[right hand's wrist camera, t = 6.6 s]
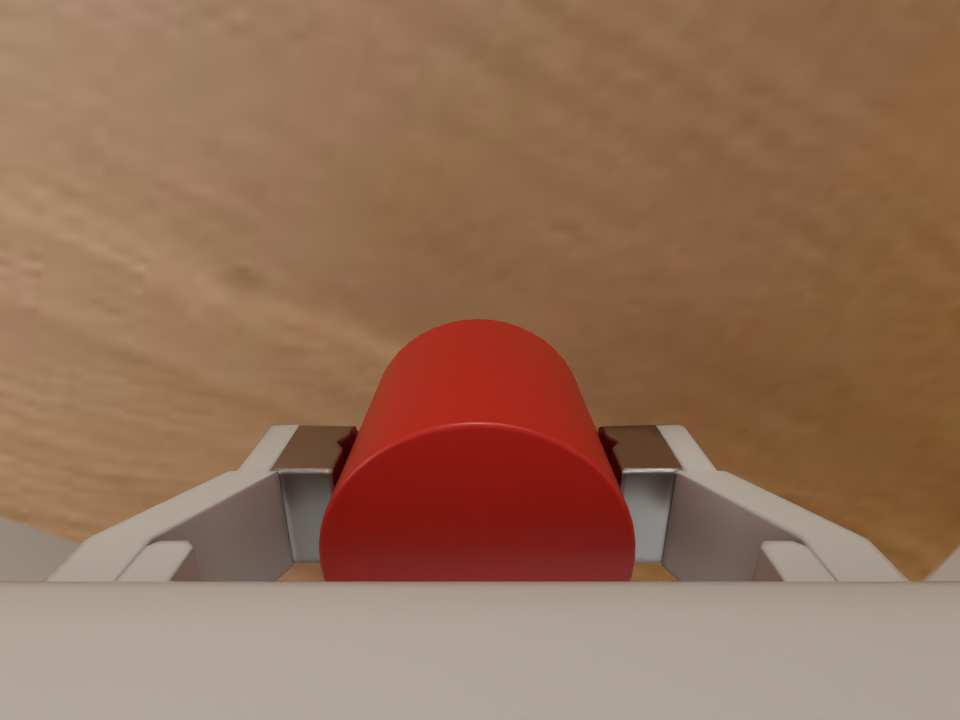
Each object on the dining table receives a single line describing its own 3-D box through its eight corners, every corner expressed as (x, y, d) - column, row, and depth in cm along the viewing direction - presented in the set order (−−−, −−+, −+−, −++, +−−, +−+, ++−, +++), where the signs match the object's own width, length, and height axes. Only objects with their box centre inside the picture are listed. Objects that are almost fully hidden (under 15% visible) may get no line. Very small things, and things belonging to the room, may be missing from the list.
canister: (359, 479, 12) (297, 647, 8) (397, 295, 11) (344, 387, 7) (546, 518, 13) (579, 698, 9) (609, 347, 11) (687, 465, 7)
